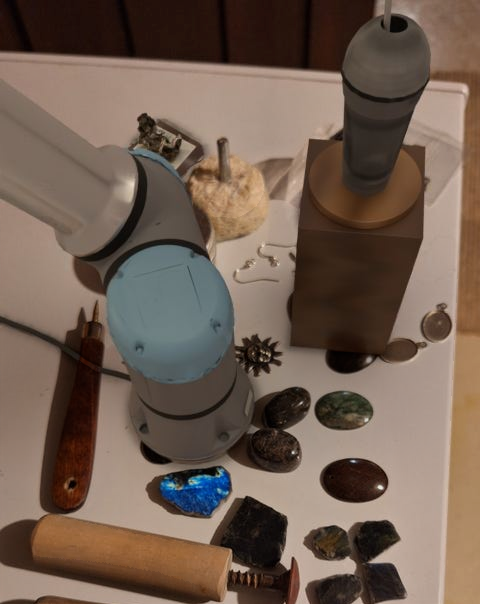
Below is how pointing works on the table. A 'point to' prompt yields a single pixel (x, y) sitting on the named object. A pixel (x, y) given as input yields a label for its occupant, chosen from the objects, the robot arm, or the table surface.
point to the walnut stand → (351, 272)
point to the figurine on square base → (168, 142)
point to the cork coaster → (359, 208)
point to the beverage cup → (380, 97)
